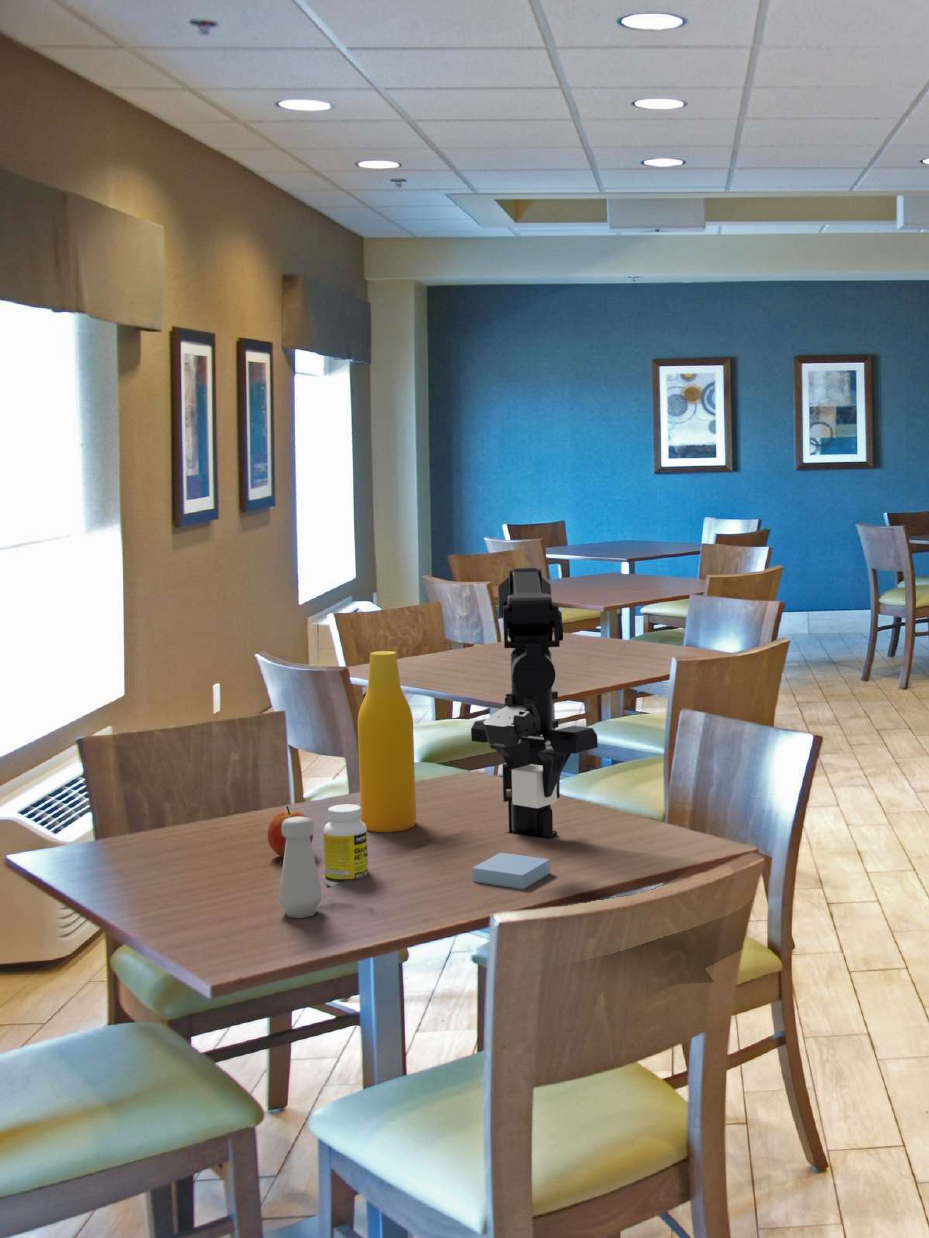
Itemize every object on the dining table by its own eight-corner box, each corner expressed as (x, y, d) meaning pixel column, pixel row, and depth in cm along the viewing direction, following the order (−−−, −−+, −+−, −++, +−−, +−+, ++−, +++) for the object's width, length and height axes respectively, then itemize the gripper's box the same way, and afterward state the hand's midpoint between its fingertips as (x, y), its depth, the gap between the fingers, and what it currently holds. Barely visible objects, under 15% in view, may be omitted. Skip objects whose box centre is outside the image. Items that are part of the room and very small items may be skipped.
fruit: (322, 852, 213) (320, 802, 212) (298, 864, 207) (296, 813, 206) (284, 848, 216) (282, 798, 215) (259, 860, 210) (257, 809, 209)
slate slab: (472, 881, 192) (472, 867, 192) (501, 865, 199) (500, 852, 198) (523, 889, 188) (522, 875, 188) (550, 872, 195) (549, 859, 194)
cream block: (512, 804, 195) (511, 769, 194) (532, 798, 198) (531, 764, 198) (537, 808, 192) (536, 773, 191) (556, 802, 195) (556, 767, 195)
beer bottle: (427, 822, 230) (422, 650, 227) (395, 835, 222) (389, 657, 219) (382, 816, 235) (376, 647, 232) (349, 828, 227) (343, 655, 224)
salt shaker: (280, 907, 187) (276, 813, 186) (322, 905, 188) (319, 811, 186) (278, 921, 181) (274, 824, 180) (322, 918, 182) (318, 822, 180)
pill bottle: (362, 890, 194) (359, 813, 192) (319, 888, 195) (317, 812, 194) (373, 877, 200) (371, 802, 198) (332, 875, 201) (330, 801, 200)
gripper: (444, 688, 193) (447, 797, 195) (549, 698, 181) (552, 814, 183) (494, 678, 202) (497, 783, 203) (598, 687, 190) (600, 799, 191)
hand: (534, 794), depth 195 cm, fingers closed on cream block, 4 cm apart
